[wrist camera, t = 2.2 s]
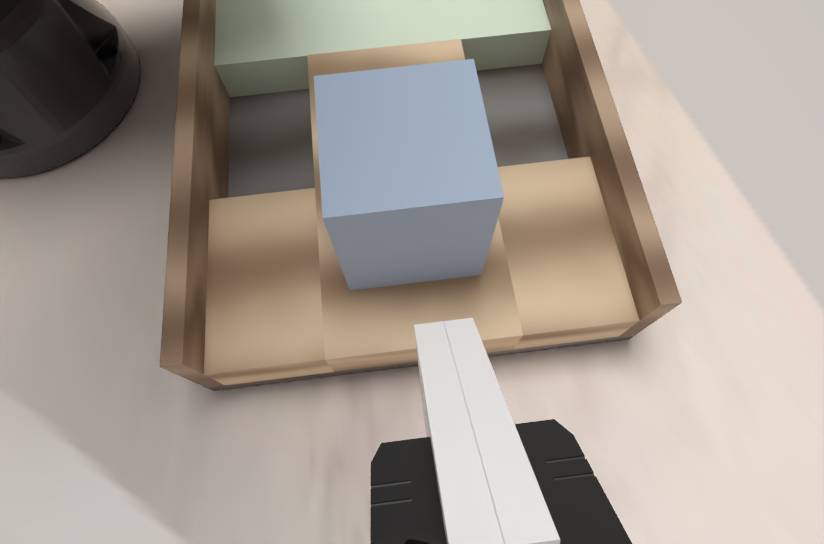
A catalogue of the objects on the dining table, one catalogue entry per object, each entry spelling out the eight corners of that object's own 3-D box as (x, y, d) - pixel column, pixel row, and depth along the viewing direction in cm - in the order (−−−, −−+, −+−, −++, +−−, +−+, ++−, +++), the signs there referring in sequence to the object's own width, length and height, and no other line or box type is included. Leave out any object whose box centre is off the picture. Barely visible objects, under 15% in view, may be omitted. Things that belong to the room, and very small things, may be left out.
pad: (541, 63, 36) (551, 29, 34) (229, 97, 36) (214, 65, 33) (514, -35, 40) (520, -72, 38) (231, -6, 40) (217, -42, 37)
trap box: (629, 338, 30) (682, 302, 24) (213, 390, 29) (159, 366, 23) (524, -24, 41) (541, -111, 35) (223, 6, 40) (188, -77, 34)
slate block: (481, 275, 27) (503, 197, 20) (349, 290, 27) (322, 218, 20) (460, 163, 30) (473, 58, 22) (340, 177, 30) (313, 76, 22)
